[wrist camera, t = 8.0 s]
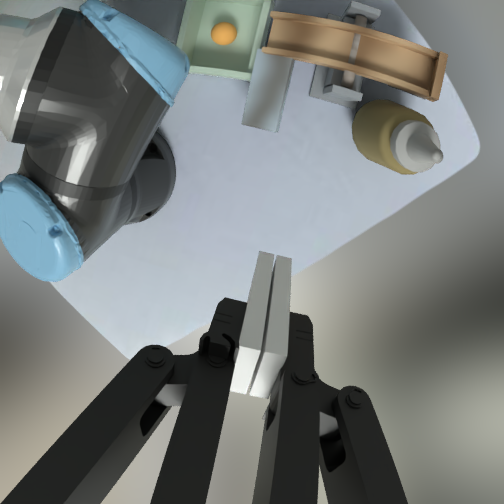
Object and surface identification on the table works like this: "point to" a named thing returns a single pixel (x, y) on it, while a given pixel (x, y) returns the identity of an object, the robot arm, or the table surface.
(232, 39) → the ball
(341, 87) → the fulcrum
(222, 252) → the table surface
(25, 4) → the table surface
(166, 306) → the table surface
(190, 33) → the dish
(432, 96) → the lever
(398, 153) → the squeeze bottle
